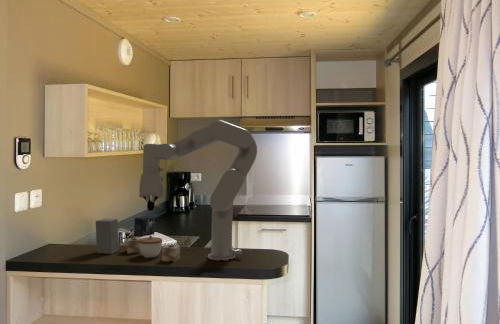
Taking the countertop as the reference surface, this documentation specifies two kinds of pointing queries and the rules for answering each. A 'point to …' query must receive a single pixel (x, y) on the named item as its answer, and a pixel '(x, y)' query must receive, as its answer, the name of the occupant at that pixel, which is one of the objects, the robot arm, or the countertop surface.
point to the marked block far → (133, 245)
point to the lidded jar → (150, 246)
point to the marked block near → (170, 253)
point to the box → (144, 226)
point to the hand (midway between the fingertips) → (150, 210)
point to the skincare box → (107, 236)
